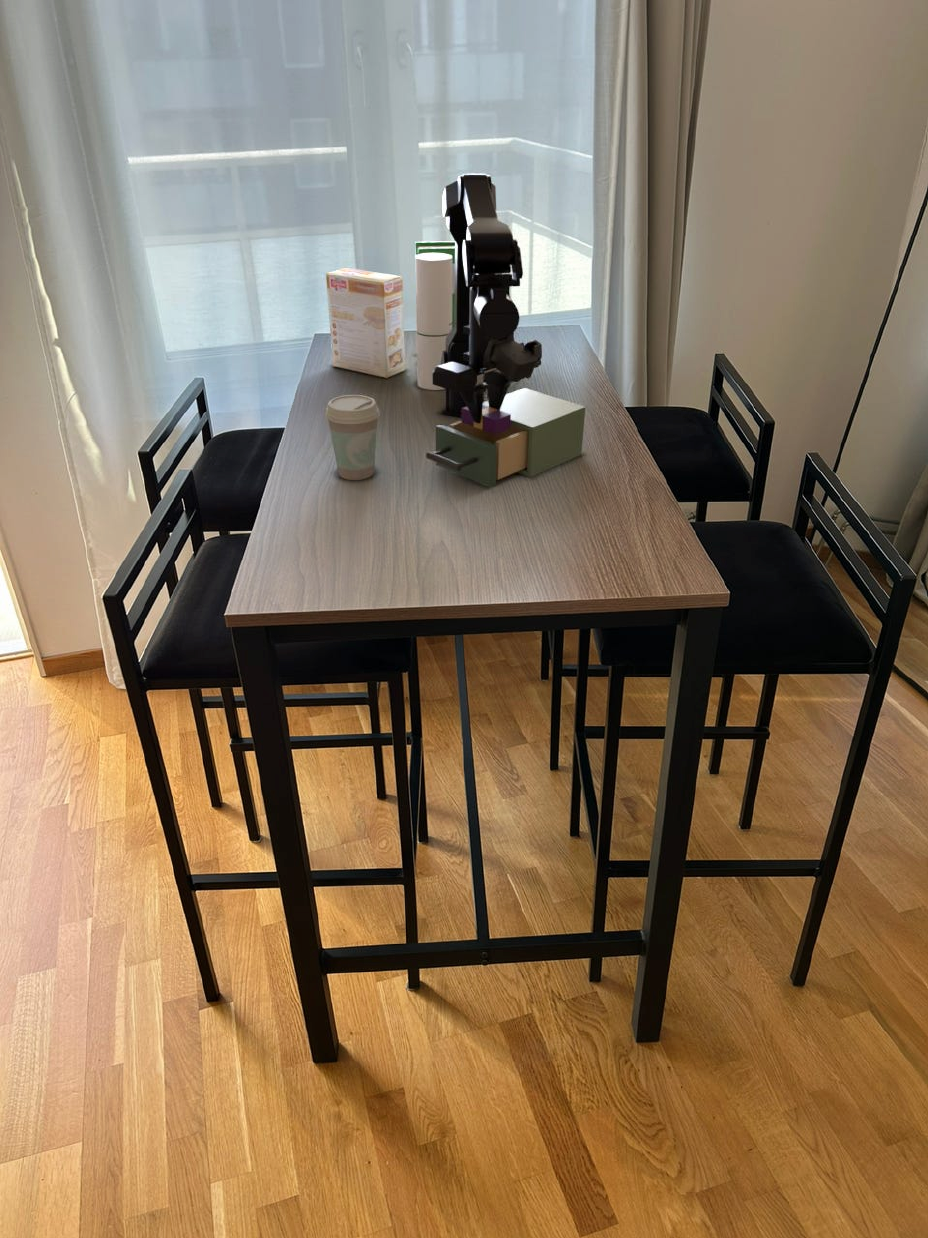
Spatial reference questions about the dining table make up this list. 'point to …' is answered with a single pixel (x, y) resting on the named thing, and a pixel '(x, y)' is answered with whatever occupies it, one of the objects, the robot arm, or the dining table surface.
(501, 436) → the drawer
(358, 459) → the coffee cup
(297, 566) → the dining table surface
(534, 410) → the cabinet
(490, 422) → the chocolate bar
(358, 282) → the coffeecake box
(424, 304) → the cylindrical container
